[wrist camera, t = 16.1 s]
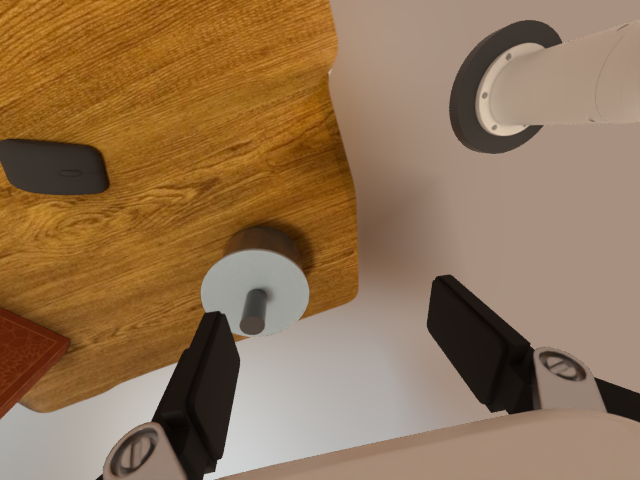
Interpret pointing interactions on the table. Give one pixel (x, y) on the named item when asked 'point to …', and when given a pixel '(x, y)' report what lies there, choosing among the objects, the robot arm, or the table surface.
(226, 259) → the lid
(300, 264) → the tin
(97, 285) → the table surface
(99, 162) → the computer mouse
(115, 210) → the table surface
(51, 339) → the book
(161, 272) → the table surface
